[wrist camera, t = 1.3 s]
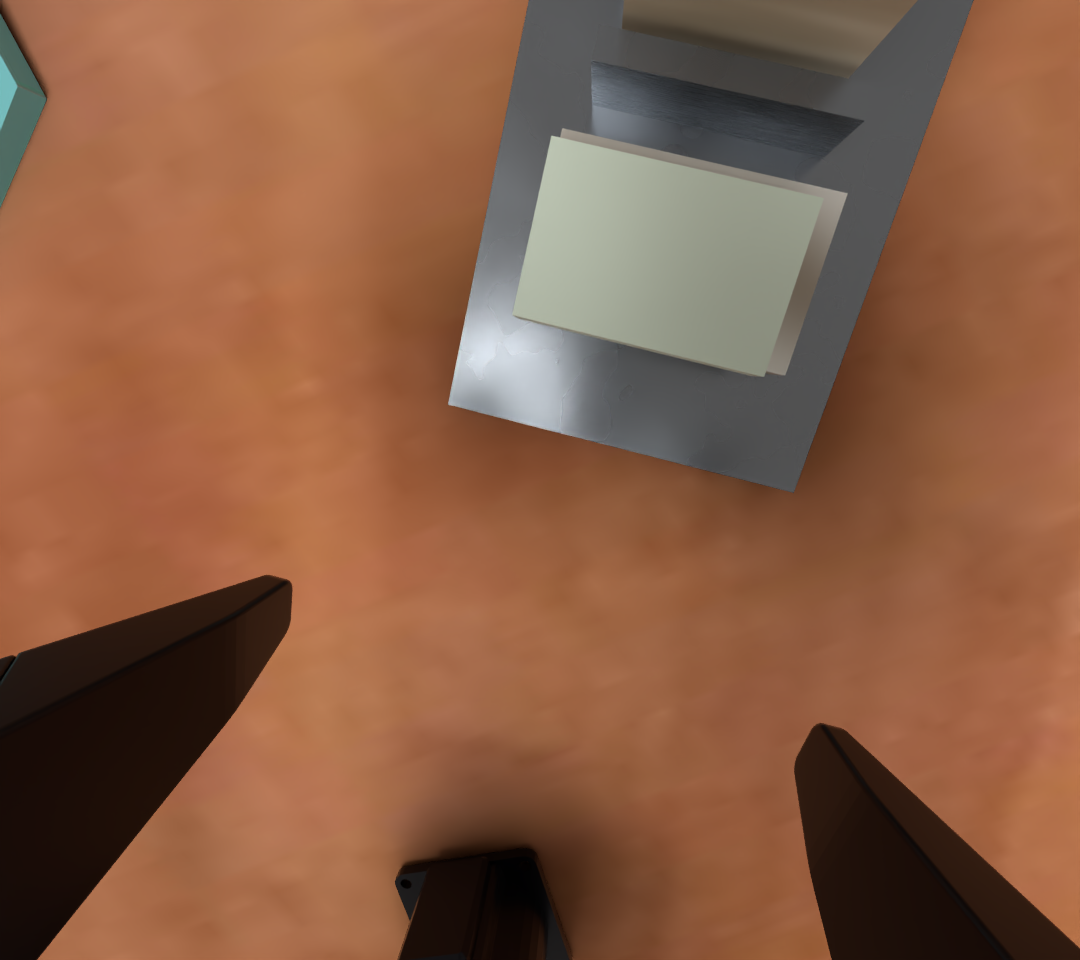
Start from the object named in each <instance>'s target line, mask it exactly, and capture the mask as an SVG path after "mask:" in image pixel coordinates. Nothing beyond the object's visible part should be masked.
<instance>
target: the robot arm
mask: <svg viewBox="0 0 1080 960" xmlns="http://www.w3.org/2000/svg"><path fill="white" fill-rule="evenodd" d="M291 606H292V584H291V582H290V581H289V580H287V579H283V578H279V577H276V576H272V575H264V576H261V577H258V578H255V579H251V580H248V581H245V582H242V583H239V584H236V585H233V586H229V587H226V588H223V589H220V590H217V591H214V592H210V593H207V594H204V595H201V596H198V597H195V598H191V599H188V600H185V601H182V602H179V603H176V604H172V605H169V606H166V607H163V608H160V609H157V610H153V611H150V612H147V613H144V614H141V615H138V616H134V617H131V618H128V619H125V620H122V621H119V622H115V623H112V624H109V625H106V626H103V627H100V628H96V629H93V630H90V631H87V632H84V633H81V634H77V635H74V636H71V637H68V638H65V639H62V640H58V641H55V642H52V643H49V644H46V645H43V646H39V647H36V648H33V649H30V650H27V651H24V652H21V653H19V654H18V655H17V656H16V657H15V656H13V655H11V656H7V657H4V658H1V659H0V960H37V959H38V958H39V957H40V955H41V954H42V953H43V952H44V950H45V949H46V948H47V947H48V945H49V944H50V943H51V942H52V940H53V939H54V938H55V937H56V935H57V934H58V933H59V932H60V930H61V929H62V928H63V927H64V925H65V924H66V923H67V922H68V920H69V919H70V918H71V917H72V915H73V914H74V913H75V912H76V910H77V909H78V908H79V907H80V905H81V904H82V903H83V902H84V900H85V899H86V898H87V897H88V895H89V894H90V893H91V892H92V890H93V889H94V888H95V887H96V885H97V884H98V883H99V882H100V880H101V879H102V878H103V877H104V875H105V874H106V873H107V872H108V870H109V869H110V868H111V867H112V865H113V864H114V863H115V862H116V860H117V859H118V858H119V857H120V855H121V854H122V853H123V852H124V850H125V849H126V848H127V847H128V845H129V844H130V843H131V842H132V841H133V839H134V838H135V837H136V836H137V834H138V833H139V832H140V831H141V829H142V828H143V827H144V826H145V824H146V823H147V822H148V821H149V819H150V818H151V817H152V816H153V814H154V813H155V812H156V811H157V809H158V808H159V807H160V806H161V804H162V803H163V802H164V801H165V799H166V798H167V797H168V796H169V794H170V793H171V792H172V791H173V789H174V788H175V787H176V786H177V784H178V783H179V782H180V781H181V779H182V778H183V777H184V776H185V774H186V773H187V772H188V771H189V769H190V768H191V767H192V766H193V764H194V763H195V762H196V761H197V759H198V758H199V757H200V756H201V754H202V753H203V752H204V751H205V749H206V748H207V747H208V746H209V744H210V743H211V742H212V741H213V739H214V738H215V737H216V736H217V734H218V733H219V732H220V731H221V729H222V728H223V727H224V726H225V724H226V723H227V722H228V720H229V719H230V718H231V716H232V715H233V714H234V713H235V711H236V710H237V708H238V707H239V705H240V704H241V702H242V701H243V700H244V698H245V696H246V695H247V693H248V692H249V690H250V689H251V687H252V686H253V684H254V683H255V681H256V679H257V678H258V676H259V675H260V673H261V672H262V670H263V669H264V667H265V665H266V664H267V662H268V661H269V659H270V658H271V656H272V655H273V653H274V652H275V650H276V648H277V647H278V645H279V644H280V642H281V641H282V639H283V638H284V636H285V634H286V633H287V630H288V628H289V625H290V621H291ZM794 773H795V780H796V787H797V793H798V800H799V806H800V813H801V820H802V826H803V833H804V839H805V846H806V852H807V858H808V864H809V869H810V874H811V878H812V883H813V887H814V891H815V895H816V899H817V903H818V907H819V911H820V915H821V919H822V923H823V927H824V931H825V935H826V938H827V942H828V946H829V950H830V954H831V958H832V960H1080V948H1079V947H1078V946H1077V945H1076V944H1075V943H1074V942H1073V941H1071V940H1070V939H1069V938H1068V937H1067V936H1066V935H1065V934H1064V933H1063V932H1062V931H1061V930H1060V929H1059V928H1057V927H1056V926H1055V925H1054V924H1053V923H1052V922H1051V921H1050V920H1049V919H1048V918H1047V917H1046V916H1045V915H1043V914H1042V913H1041V912H1040V911H1039V910H1038V909H1037V908H1036V907H1035V906H1034V905H1033V904H1032V903H1031V902H1030V901H1028V900H1027V899H1026V898H1025V897H1024V896H1023V895H1022V894H1021V893H1020V892H1019V891H1018V890H1017V889H1016V888H1014V887H1013V886H1012V885H1011V884H1010V883H1009V882H1008V881H1007V880H1006V879H1005V878H1004V877H1003V876H1002V875H1000V874H999V873H998V872H997V871H996V870H995V869H994V868H993V867H992V866H991V865H990V864H989V863H988V862H987V861H985V860H984V859H983V858H982V857H981V856H980V855H979V854H978V853H977V852H976V851H975V850H974V849H973V848H971V847H970V846H969V845H968V844H967V843H966V842H965V841H964V840H963V839H962V838H961V837H960V836H959V835H957V834H956V833H955V832H954V831H953V830H952V829H951V828H950V827H949V826H948V825H947V824H946V823H945V822H944V821H942V820H941V819H940V818H939V817H938V816H937V815H936V814H935V813H934V812H933V811H932V810H931V809H930V808H928V807H927V806H926V805H925V804H924V803H923V802H922V801H921V800H920V799H919V798H918V797H917V796H916V795H915V794H913V793H912V792H911V791H910V790H909V789H908V788H907V787H906V786H905V785H904V784H903V783H902V782H901V781H899V780H898V779H897V778H896V777H895V776H894V775H893V774H892V773H891V772H890V771H889V770H888V769H887V768H886V767H884V766H883V765H882V764H881V763H880V762H879V761H878V760H877V759H876V758H875V757H874V756H873V755H872V754H870V753H869V752H868V751H867V750H866V749H865V748H864V747H863V746H862V745H861V744H860V743H859V742H858V741H857V740H855V739H854V738H853V737H852V736H851V735H850V734H849V733H848V732H847V731H845V730H844V729H842V728H838V727H834V726H831V725H827V724H823V723H819V724H816V725H815V726H814V727H813V728H812V730H811V731H810V733H809V735H808V737H807V739H806V741H805V742H804V744H803V746H802V748H801V750H800V752H799V754H798V755H797V758H796V761H795V766H794ZM524 861H527V862H528V863H527V862H524ZM395 885H396V888H397V890H398V893H399V895H400V898H401V900H402V903H403V905H404V907H405V910H406V912H407V915H408V917H409V920H410V923H409V926H408V929H407V932H406V935H405V938H404V941H403V944H402V947H401V950H400V953H399V956H398V959H397V960H573V959H572V955H571V952H570V949H569V946H568V943H567V940H566V937H565V934H564V931H563V929H562V926H561V923H560V920H559V917H558V914H557V911H556V908H555V905H554V902H553V899H552V896H551V894H550V891H549V888H548V885H547V882H546V879H545V876H544V873H543V870H542V867H541V864H540V861H539V858H538V856H537V854H536V852H534V851H533V850H532V849H529V848H520V849H514V850H508V851H501V852H495V853H488V854H482V855H475V856H469V857H463V858H456V859H450V860H443V861H437V862H431V863H424V864H418V865H411V866H405V867H402V868H401V869H400V870H399V872H398V875H397V877H396V880H395Z"/></svg>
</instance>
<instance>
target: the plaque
mask: <svg viewBox="0 0 1080 960" xmlns="http://www.w3.org/2000/svg"><path fill="white" fill-rule="evenodd" d="M46 100H47V99H46V97H45V95H44V93H43V91H42V89H41V87H40V86H39V84H38V82H37V80H36V78H35V76H34V75H33V73H32V71H31V69H30V67H29V65H28V64H27V62H26V60H25V58H24V56H23V54H22V53H21V51H20V49H19V47H18V45H17V43H16V42H15V40H14V38H13V36H12V34H11V32H10V30H9V29H8V27H7V25H6V23H5V21H4V19H3V18H2V16H1V14H0V207H1V205H2V203H3V200H4V198H5V196H6V193H7V191H8V189H9V186H10V184H11V182H12V179H13V177H14V175H15V173H16V170H17V168H18V166H19V163H20V161H21V159H22V156H23V154H24V152H25V149H26V147H27V145H28V142H29V140H30V138H31V135H32V133H33V131H34V128H35V126H36V124H37V121H38V119H39V117H40V114H41V112H42V110H43V107H44V105H45V102H46Z"/></svg>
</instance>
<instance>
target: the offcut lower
mask: <svg viewBox="0 0 1080 960" xmlns="http://www.w3.org/2000/svg"><path fill="white" fill-rule="evenodd" d="M560 138H564V139H569V140H573V141H577V142H582V143H586V144H590V145H595V146H599V147H603V148H608V149H612V150H617V151H621V152H625V153H630V154H634V155H638V156H643V157H647V158H651V159H656V160H660V161H665V162H669V163H673V164H678V165H682V166H686V167H691V168H695V169H699V170H704V171H708V172H713V173H717V174H721V175H726V176H730V177H734V178H739V179H743V180H747V181H752V182H756V183H761V184H765V185H769V186H774V187H778V188H782V189H787V190H791V191H795V192H800V193H804V194H809V195H813V196H817V197H822V198H824V200H823V203H822V205H821V208H820V211H819V214H818V217H817V220H816V223H815V226H814V229H813V232H812V235H811V238H810V241H809V244H808V247H807V250H806V253H805V256H804V259H803V262H802V265H801V268H800V271H799V274H798V277H797V280H796V283H795V286H794V289H793V292H792V295H791V298H790V301H789V304H788V307H787V310H786V313H785V316H784V319H783V322H782V325H781V328H780V331H779V334H778V337H777V340H776V343H775V346H774V349H773V352H772V355H771V358H770V361H769V364H768V367H767V370H766V374H771V375H786V372H787V369H788V366H789V363H790V360H791V357H792V354H793V351H794V349H795V346H796V343H797V340H798V337H799V334H800V331H801V328H802V325H803V322H804V319H805V316H806V314H807V311H808V308H809V305H810V302H811V299H812V296H813V293H814V290H815V287H816V284H817V281H818V279H819V276H820V273H821V270H822V267H823V264H824V261H825V258H826V255H827V252H828V249H829V247H830V244H831V241H832V238H833V235H834V232H835V229H836V226H837V223H838V220H839V217H840V214H841V212H842V209H843V206H844V203H845V200H846V197H847V194H848V193H844V192H840V191H835V190H831V189H826V188H822V187H818V186H813V185H809V184H805V183H800V182H796V181H791V180H787V179H783V178H778V177H774V176H769V175H765V174H761V173H756V172H752V171H748V170H743V169H739V168H734V167H730V166H726V165H721V164H717V163H713V162H708V161H704V160H699V159H695V158H691V157H686V156H682V155H677V154H673V153H669V152H664V151H660V150H656V149H651V148H647V147H642V146H638V145H634V144H629V143H625V142H621V141H616V140H612V139H607V138H603V137H599V136H594V135H590V134H585V133H581V132H577V131H572V130H568V129H564V128H562V132H561V136H560Z"/></svg>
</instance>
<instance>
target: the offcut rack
mask: <svg viewBox="0 0 1080 960" xmlns="http://www.w3.org/2000/svg"><path fill="white" fill-rule="evenodd" d="M972 3H973V0H918V1H917V2H916V3H915V4H914V5H913V6H912V7H911V9H910V10H909V11H908V12H907V13H906V14H905V15H904V16H903V18H902V19H901V20H900V21H899V22H898V23H897V24H896V25H895V27H894V28H893V29H892V30H891V31H890V32H889V33H888V34H887V36H886V37H885V38H884V39H883V40H882V41H881V42H880V43H879V45H878V46H877V47H876V48H875V49H874V50H873V51H872V52H871V54H870V55H869V56H868V57H867V58H866V59H865V60H864V61H863V63H862V64H861V65H860V66H859V67H858V68H857V69H856V70H855V72H854V73H853V74H852V75H851V76H850V77H849V78H844V77H839V76H835V75H830V74H826V73H821V72H816V71H812V70H807V69H803V68H798V67H793V66H789V65H784V64H780V63H775V62H771V61H766V60H761V59H757V58H752V57H748V56H743V55H738V54H734V53H729V52H725V51H720V50H716V49H711V48H706V47H702V46H697V45H693V44H688V43H683V42H679V41H674V40H670V39H665V38H661V37H656V36H651V35H647V34H642V33H638V32H633V31H628V30H624V29H622V19H623V5H624V0H529V2H528V7H527V12H526V17H525V22H524V27H523V32H522V37H521V42H520V47H519V52H518V57H517V62H516V67H515V72H514V77H513V82H512V87H511V92H510V97H509V102H508V107H507V112H506V117H505V122H504V127H503V132H502V137H501V142H500V147H499V152H498V157H497V162H496V167H495V172H494V177H493V182H492V187H491V192H490V197H489V202H488V207H487V212H486V217H485V222H484V227H483V232H482V237H481V242H480V247H479V252H478V257H477V262H476V267H475V272H474V277H473V282H472V287H471V292H470V297H469V302H468V307H467V312H466V317H465V322H464V327H463V332H462V337H461V342H460V347H459V352H458V357H457V362H456V367H455V372H454V377H453V383H452V388H451V393H450V398H449V403H448V405H452V406H456V407H460V408H464V409H468V410H472V411H476V412H479V413H483V414H487V415H491V416H495V417H499V418H503V419H507V420H511V421H515V422H519V423H522V424H526V425H530V426H534V427H538V428H542V429H546V430H550V431H554V432H558V433H562V434H566V435H569V436H573V437H577V438H581V439H585V440H589V441H593V442H597V443H601V444H605V445H609V446H612V447H616V448H620V449H624V450H628V451H632V452H636V453H640V454H644V455H648V456H652V457H656V458H659V459H663V460H667V461H671V462H675V463H679V464H683V465H687V466H691V467H695V468H699V469H702V470H706V471H710V472H714V473H718V474H722V475H726V476H730V477H734V478H738V479H742V480H746V481H749V482H753V483H757V484H761V485H765V486H769V487H773V488H777V489H781V490H785V491H789V492H793V493H794V491H795V488H796V485H797V482H798V480H799V477H800V474H801V471H802V469H803V466H804V463H805V460H806V458H807V455H808V452H809V449H810V447H811V444H812V441H813V439H814V436H815V433H816V430H817V428H818V425H819V422H820V419H821V417H822V414H823V411H824V408H825V406H826V403H827V400H828V397H829V395H830V392H831V389H832V387H833V384H834V381H835V378H836V376H837V373H838V370H839V367H840V365H841V362H842V359H843V356H844V354H845V351H846V348H847V345H848V343H849V340H850V337H851V334H852V332H853V329H854V326H855V324H856V321H857V318H858V315H859V313H860V310H861V307H862V304H863V302H864V299H865V296H866V293H867V291H868V288H869V285H870V282H871V280H872V277H873V274H874V272H875V269H876V266H877V263H878V261H879V258H880V255H881V252H882V250H883V247H884V244H885V241H886V239H887V236H888V233H889V230H890V228H891V225H892V222H893V220H894V217H895V214H896V211H897V209H898V206H899V203H900V200H901V198H902V195H903V192H904V189H905V187H906V184H907V181H908V178H909V176H910V173H911V170H912V167H913V165H914V162H915V159H916V157H917V154H918V151H919V148H920V146H921V143H922V140H923V137H924V135H925V132H926V129H927V126H928V124H929V121H930V118H931V115H932V113H933V110H934V107H935V105H936V102H937V99H938V96H939V94H940V91H941V88H942V85H943V83H944V80H945V77H946V74H947V72H948V69H949V66H950V63H951V61H952V58H953V55H954V52H955V50H956V47H957V44H958V42H959V39H960V36H961V33H962V31H963V28H964V25H965V22H966V20H967V17H968V14H969V11H970V9H971V6H972ZM562 128H564V129H568V130H572V131H577V132H581V133H585V134H590V135H594V136H599V137H603V138H607V139H612V140H616V141H621V142H625V143H629V144H634V145H638V146H642V147H647V148H651V149H656V150H660V151H664V152H669V153H673V154H677V155H682V156H686V157H691V158H695V159H699V160H704V161H708V162H713V163H717V164H721V165H726V166H730V167H734V168H739V169H743V170H748V171H752V172H756V173H761V174H765V175H769V176H774V177H778V178H783V179H787V180H791V181H796V182H800V183H805V184H809V185H813V186H818V187H822V188H826V189H831V190H835V191H840V192H844V193H848V194H847V197H846V200H845V203H844V206H843V209H842V212H841V214H840V217H839V220H838V223H837V226H836V229H835V232H834V235H833V238H832V241H831V244H830V247H829V249H828V252H827V255H826V258H825V261H824V264H823V267H822V270H821V273H820V276H819V279H818V281H817V284H816V287H815V290H814V293H813V296H812V299H811V302H810V305H809V308H808V311H807V314H806V316H805V319H804V322H803V325H802V328H801V331H800V334H799V337H798V340H797V343H796V346H795V349H794V351H793V354H792V357H791V360H790V363H789V366H788V369H787V372H786V375H771V374H766V373H765V376H764V377H759V376H749V375H745V374H741V373H737V372H732V371H728V370H724V369H720V368H716V367H712V366H708V365H704V364H700V363H696V362H692V361H688V360H684V359H680V358H676V357H672V356H668V355H663V354H659V353H655V352H651V351H647V350H643V349H639V348H635V347H631V346H627V345H623V344H619V343H615V342H611V341H607V340H603V339H598V338H594V337H590V336H586V335H582V334H578V333H574V332H570V331H566V330H562V329H558V328H554V327H550V326H546V325H542V324H538V323H533V322H529V321H525V320H521V319H519V318H517V317H515V316H513V315H512V313H513V309H514V304H515V300H516V295H517V290H518V286H519V281H520V277H521V272H522V268H523V263H524V259H525V254H526V249H527V245H528V240H529V236H530V231H531V227H532V222H533V217H534V213H535V208H536V204H537V199H538V195H539V190H540V186H541V181H542V176H543V172H544V167H545V163H546V158H547V154H548V149H549V145H550V140H551V136H555V137H560V136H561V132H562Z"/></svg>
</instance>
